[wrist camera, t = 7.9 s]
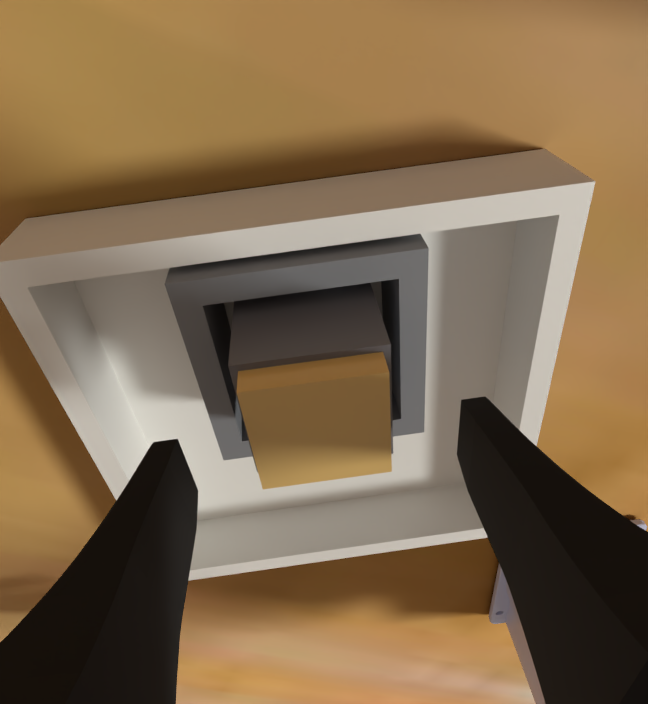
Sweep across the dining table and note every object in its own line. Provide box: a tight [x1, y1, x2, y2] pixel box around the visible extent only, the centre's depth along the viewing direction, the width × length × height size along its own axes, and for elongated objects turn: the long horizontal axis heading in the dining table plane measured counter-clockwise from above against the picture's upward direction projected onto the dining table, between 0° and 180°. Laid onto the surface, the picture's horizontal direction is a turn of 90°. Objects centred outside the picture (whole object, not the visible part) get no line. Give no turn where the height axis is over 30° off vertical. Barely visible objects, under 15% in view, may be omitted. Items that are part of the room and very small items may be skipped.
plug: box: [228, 283, 393, 489], centre depth 15 cm, size 4×4×6 cm
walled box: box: [0, 149, 595, 581], centre depth 19 cm, size 16×16×4 cm
